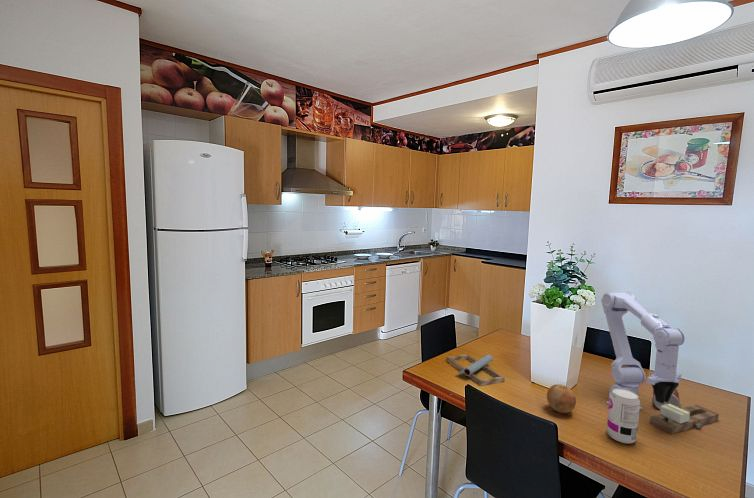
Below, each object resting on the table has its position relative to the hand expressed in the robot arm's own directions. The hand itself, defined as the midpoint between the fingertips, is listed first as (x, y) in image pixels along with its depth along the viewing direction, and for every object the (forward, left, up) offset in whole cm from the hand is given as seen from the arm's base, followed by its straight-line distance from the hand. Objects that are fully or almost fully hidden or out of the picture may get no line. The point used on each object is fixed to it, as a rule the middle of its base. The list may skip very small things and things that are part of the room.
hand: (662, 401), depth 125 cm
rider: (+8, 0, -10) cm, 12 cm away
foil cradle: (-33, +60, -10) cm, 69 cm away
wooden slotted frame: (+14, 0, -10) cm, 17 cm away
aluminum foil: (-33, +59, -8) cm, 68 cm away
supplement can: (-17, +1, -10) cm, 20 cm away
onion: (-23, +20, -10) cm, 32 cm away
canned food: (+24, +13, -6) cm, 28 cm away
